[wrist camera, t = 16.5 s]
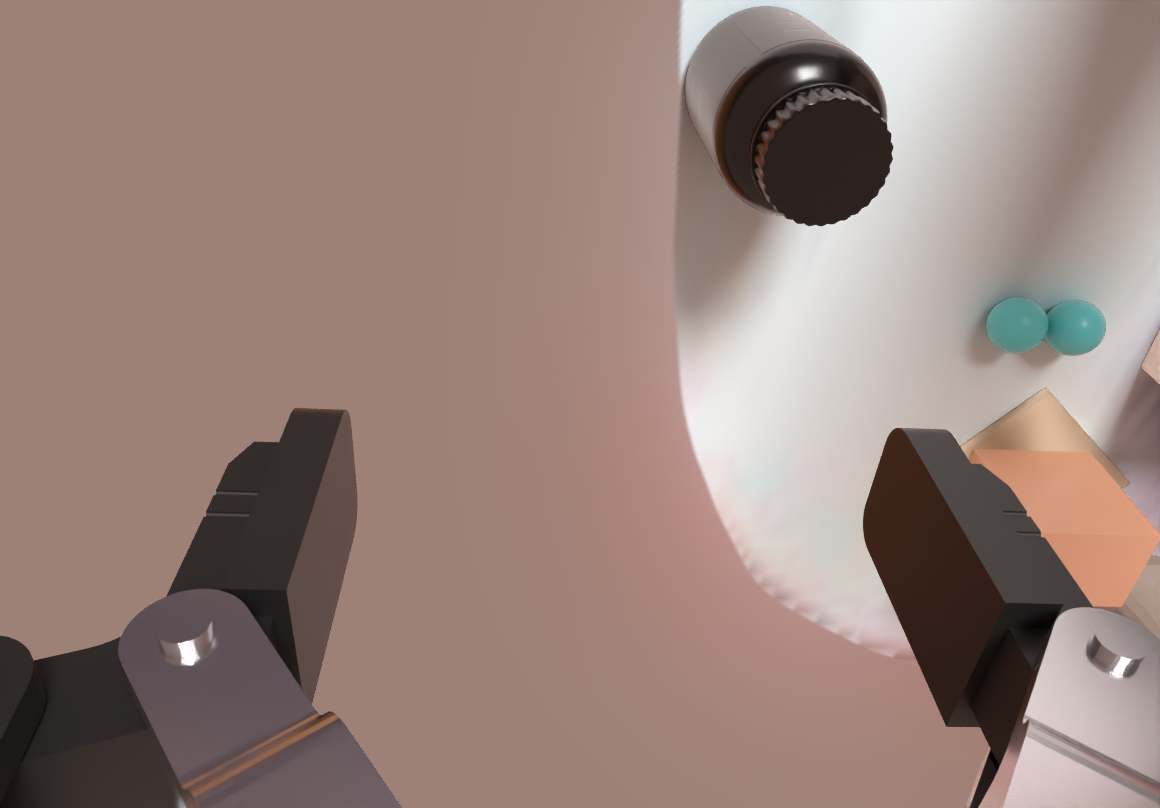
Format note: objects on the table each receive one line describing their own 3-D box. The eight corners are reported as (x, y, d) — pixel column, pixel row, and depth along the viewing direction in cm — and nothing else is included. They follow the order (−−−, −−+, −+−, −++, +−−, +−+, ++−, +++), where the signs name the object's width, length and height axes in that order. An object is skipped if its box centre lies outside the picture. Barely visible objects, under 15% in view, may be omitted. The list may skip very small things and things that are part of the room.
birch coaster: (1045, 387, 52) (1050, 392, 52) (1125, 477, 56) (1130, 483, 56) (903, 485, 56) (906, 491, 55) (987, 563, 60) (991, 569, 59)
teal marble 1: (1014, 277, 48) (1040, 303, 45) (1042, 310, 49) (1069, 337, 47) (966, 313, 49) (989, 340, 47) (995, 345, 50) (1018, 373, 48)
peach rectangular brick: (946, 516, 57) (997, 604, 50) (972, 448, 54) (1030, 533, 47) (1057, 519, 57) (1121, 606, 51) (1090, 452, 54) (1162, 536, 48)
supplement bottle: (783, 173, 44) (854, 280, 34) (659, 122, 43) (696, 219, 33) (857, 36, 41) (960, 111, 31) (725, -25, 39) (789, 34, 29)
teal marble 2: (1071, 280, 48) (1100, 305, 46) (1097, 313, 49) (1127, 340, 47) (1022, 316, 49) (1048, 343, 47) (1049, 347, 51) (1076, 375, 48)
